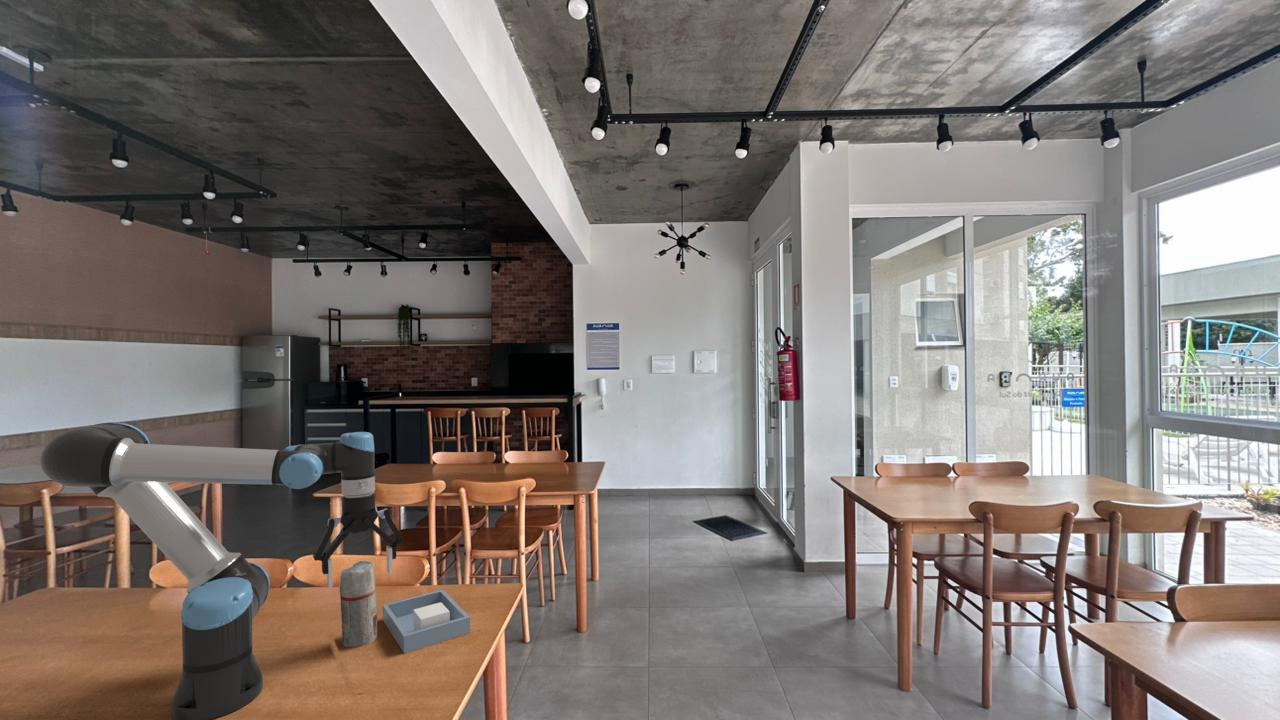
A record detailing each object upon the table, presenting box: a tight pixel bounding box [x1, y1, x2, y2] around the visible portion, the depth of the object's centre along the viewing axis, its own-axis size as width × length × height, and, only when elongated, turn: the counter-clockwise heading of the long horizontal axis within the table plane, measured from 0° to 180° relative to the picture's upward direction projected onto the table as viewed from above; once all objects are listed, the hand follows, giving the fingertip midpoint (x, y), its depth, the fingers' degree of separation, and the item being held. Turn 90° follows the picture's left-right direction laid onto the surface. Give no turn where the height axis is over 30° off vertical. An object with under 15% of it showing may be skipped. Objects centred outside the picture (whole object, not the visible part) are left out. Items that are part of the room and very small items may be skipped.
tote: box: [382, 589, 471, 654], centre depth 144 cm, size 16×22×5 cm
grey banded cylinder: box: [339, 560, 378, 648], centre depth 138 cm, size 8×8×20 cm
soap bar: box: [413, 602, 450, 632], centre depth 140 cm, size 7×7×6 cm
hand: (360, 579), depth 138 cm, fingers open, 13 cm apart
